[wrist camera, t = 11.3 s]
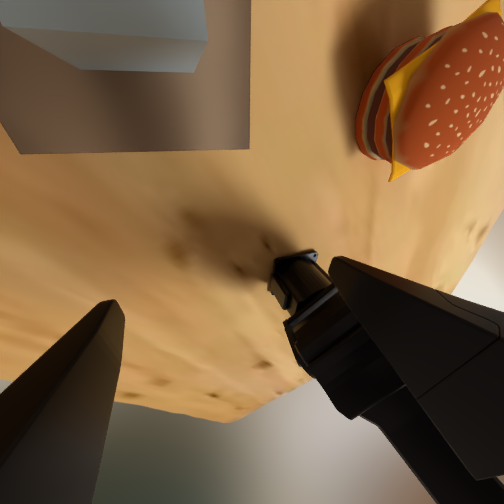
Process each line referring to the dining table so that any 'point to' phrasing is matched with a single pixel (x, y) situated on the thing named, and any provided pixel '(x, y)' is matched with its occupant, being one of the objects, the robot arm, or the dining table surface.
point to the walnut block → (131, 96)
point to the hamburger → (433, 92)
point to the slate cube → (113, 32)
